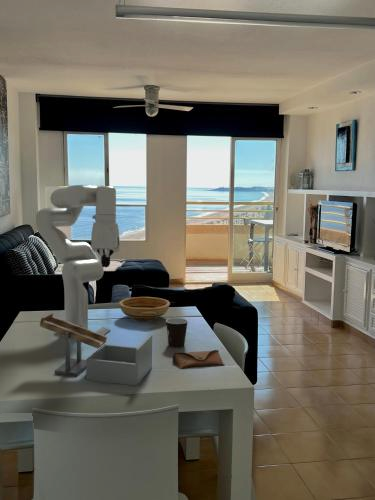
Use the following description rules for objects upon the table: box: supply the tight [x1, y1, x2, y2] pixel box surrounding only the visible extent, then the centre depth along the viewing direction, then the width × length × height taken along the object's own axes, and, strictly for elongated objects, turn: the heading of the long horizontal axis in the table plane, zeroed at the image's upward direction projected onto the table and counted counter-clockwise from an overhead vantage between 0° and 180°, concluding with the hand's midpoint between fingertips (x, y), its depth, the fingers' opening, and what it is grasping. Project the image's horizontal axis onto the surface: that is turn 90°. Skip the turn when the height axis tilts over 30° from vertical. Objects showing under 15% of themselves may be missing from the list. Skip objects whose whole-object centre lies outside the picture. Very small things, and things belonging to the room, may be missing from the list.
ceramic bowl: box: [118, 296, 171, 323], centre depth 231 cm, size 30×24×8 cm
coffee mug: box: [165, 317, 188, 349], centre depth 195 cm, size 12×9×10 cm
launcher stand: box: [54, 325, 86, 377], centre depth 166 cm, size 8×12×14 cm, turn 167°
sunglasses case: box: [172, 349, 226, 370], centre depth 175 cm, size 18×7×7 cm
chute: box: [39, 312, 111, 349], centre depth 170 cm, size 22×17×3 cm
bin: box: [85, 334, 153, 387], centre depth 163 cm, size 18×16×12 cm
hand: (105, 266), depth 186 cm, fingers closed
